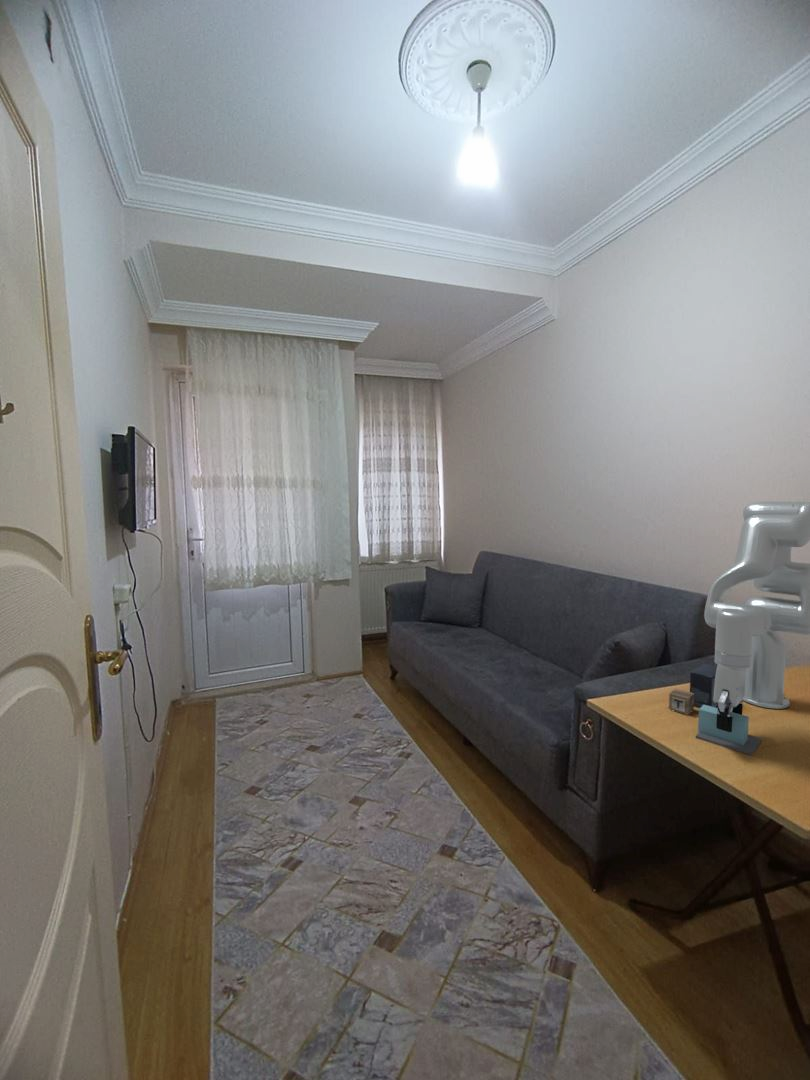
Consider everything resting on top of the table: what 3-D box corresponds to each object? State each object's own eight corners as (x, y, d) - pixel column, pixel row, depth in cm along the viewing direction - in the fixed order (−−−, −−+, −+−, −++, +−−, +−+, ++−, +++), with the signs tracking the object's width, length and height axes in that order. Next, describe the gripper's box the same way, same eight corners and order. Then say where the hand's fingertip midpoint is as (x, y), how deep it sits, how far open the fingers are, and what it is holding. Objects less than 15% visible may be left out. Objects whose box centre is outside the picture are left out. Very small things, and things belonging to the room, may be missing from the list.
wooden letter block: (674, 704, 143) (675, 688, 142) (693, 710, 139) (694, 693, 139) (668, 710, 139) (668, 693, 139) (687, 716, 136) (688, 699, 135)
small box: (703, 695, 149) (704, 662, 148) (726, 702, 144) (728, 668, 143) (687, 704, 143) (689, 670, 142) (711, 712, 137) (713, 676, 136)
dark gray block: (707, 724, 130) (707, 722, 130) (761, 740, 121) (761, 738, 121) (695, 737, 123) (695, 735, 123) (752, 755, 115) (752, 753, 115)
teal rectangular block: (702, 726, 128) (703, 704, 128) (747, 739, 121) (748, 716, 120) (698, 731, 126) (699, 709, 125) (743, 745, 118) (744, 722, 118)
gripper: (724, 647, 129) (721, 708, 131) (704, 663, 117) (702, 730, 119) (758, 653, 124) (755, 716, 125) (741, 671, 112) (738, 741, 114)
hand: (729, 723), depth 122 cm, fingers open, 9 cm apart
